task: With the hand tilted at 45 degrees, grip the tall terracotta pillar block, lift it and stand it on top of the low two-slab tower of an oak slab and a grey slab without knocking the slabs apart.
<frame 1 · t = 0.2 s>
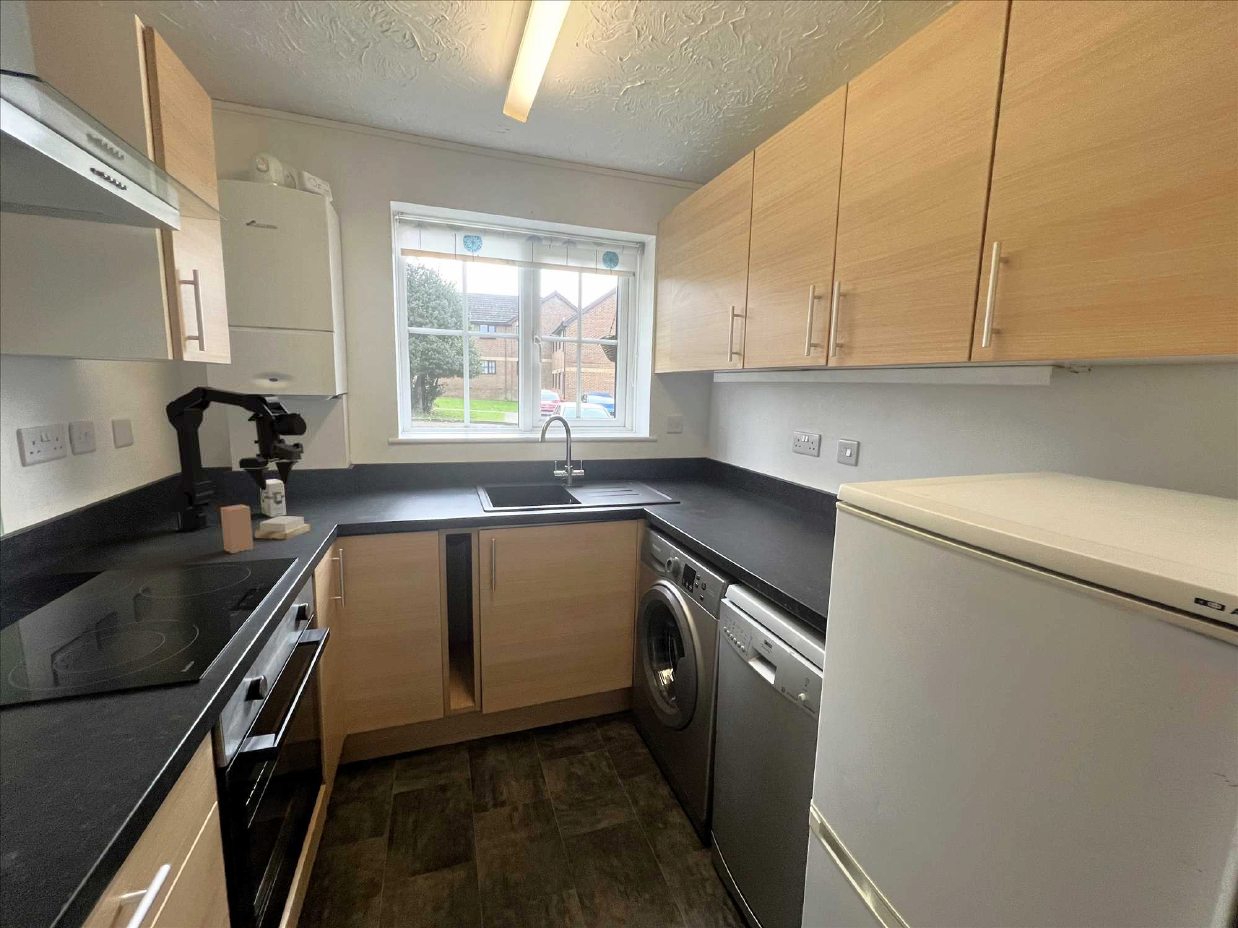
hand: (275, 487, 156), 14 cm above the worktop, tool pointing down, fingers open, 9 cm apart
pillar block: (239, 549, 142), on the worktop
ink box: (274, 514, 179), on the worktop
base slab: (283, 535, 157), on the worktop, touching top slab
top slab: (282, 527, 157), point 2 cm above the worktop, touching base slab
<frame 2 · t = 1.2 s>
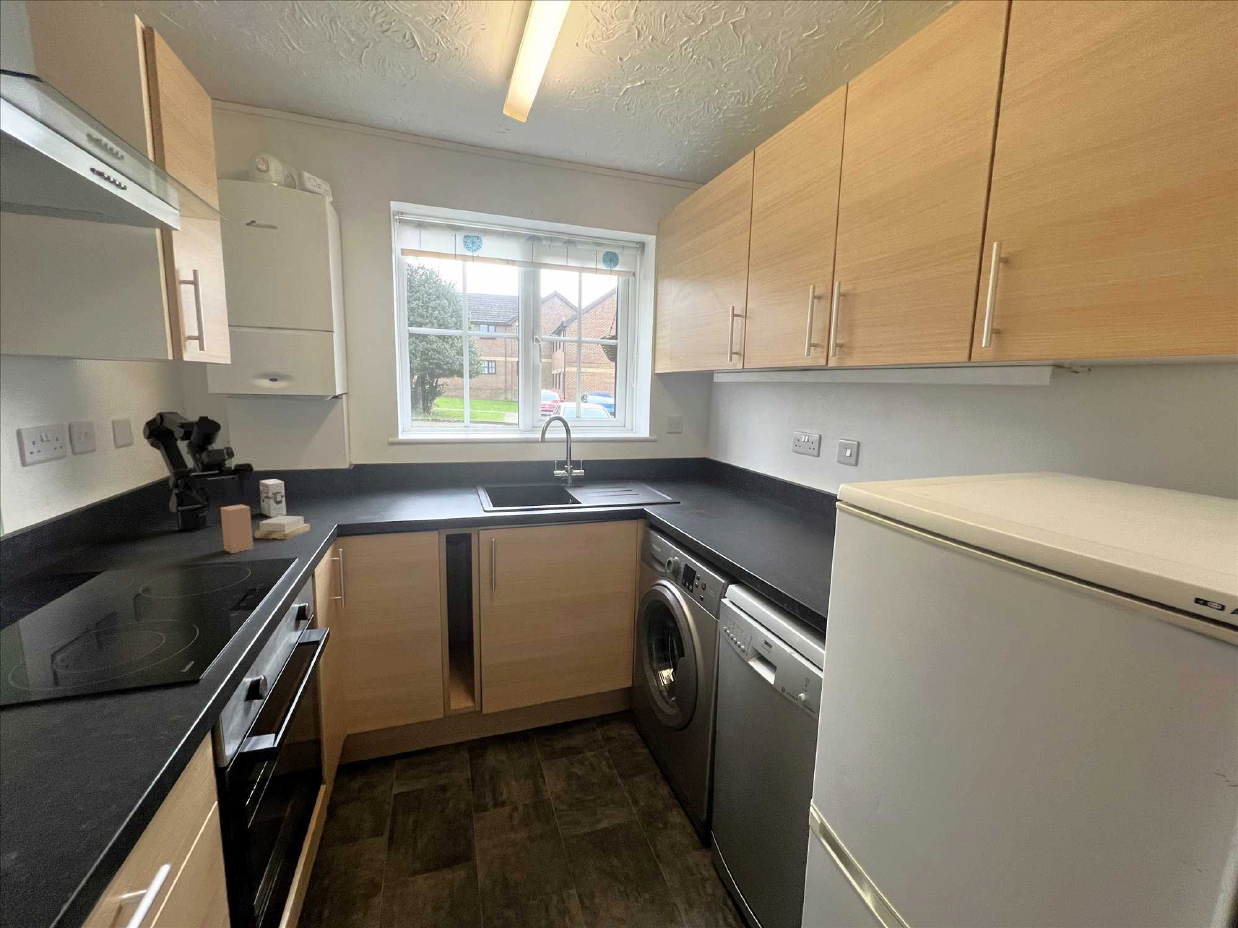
hand: (223, 498, 144), 13 cm above the worktop, tool tilted 45°, fingers open, 9 cm apart
base slab: (283, 535, 157), on the worktop
top slab: (282, 527, 157), point 2 cm above the worktop
everything else where it was.
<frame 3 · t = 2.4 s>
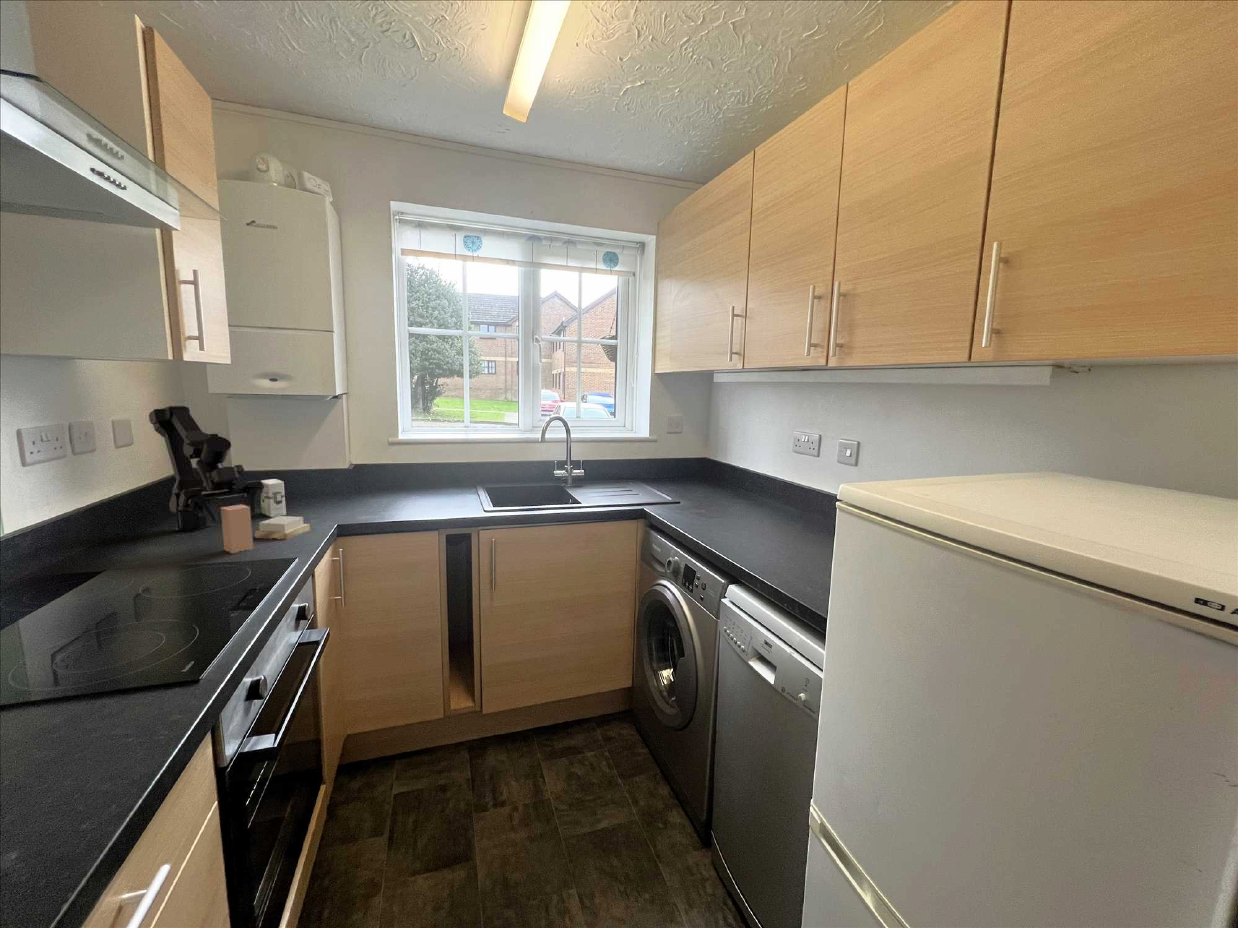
hand: (234, 517, 141), 9 cm above the worktop, tool tilted 45°, fingers open, 9 cm apart
base slab: (283, 535, 157), on the worktop, touching top slab
top slab: (282, 527, 157), point 2 cm above the worktop, touching base slab
everything else where it was.
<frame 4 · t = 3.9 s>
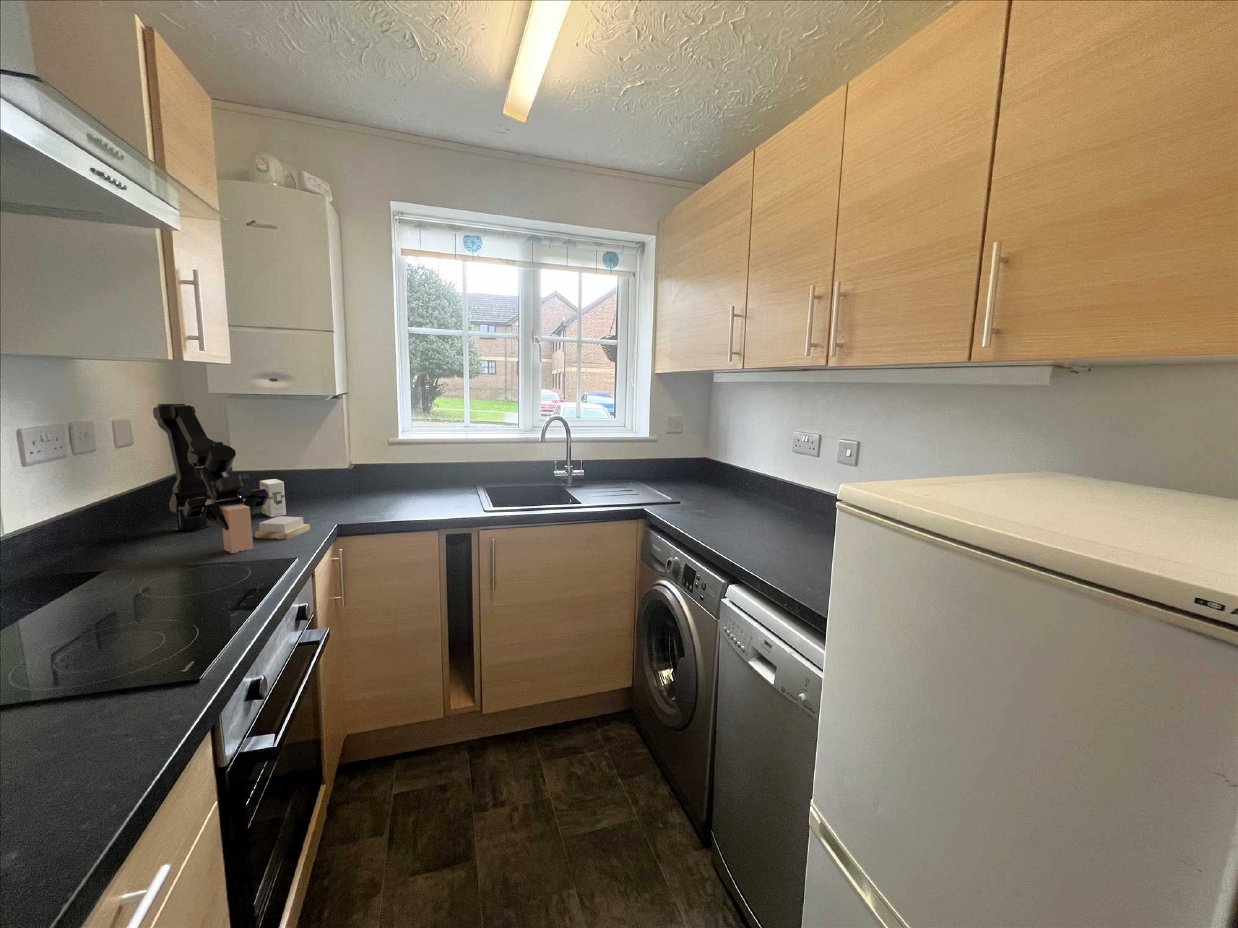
hand: (239, 527, 140), 7 cm above the worktop, tool tilted 45°, fingers closed on pillar block, 5 cm apart
pillar block: (239, 549, 142), on the worktop, touching gripper
everything else where it was.
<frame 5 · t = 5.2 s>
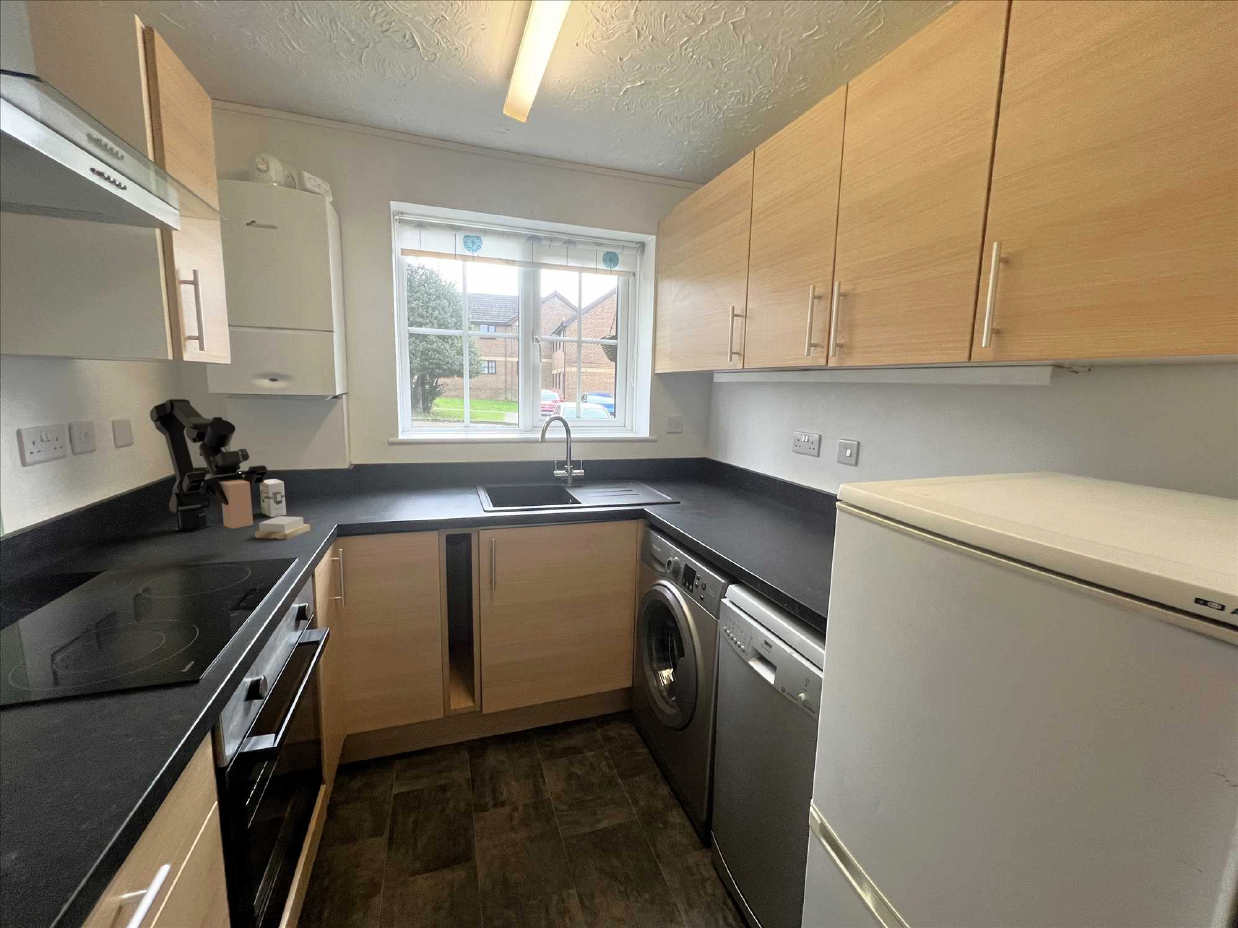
hand: (238, 502, 140), 13 cm above the worktop, tool tilted 45°, fingers closed on pillar block, 5 cm apart
pillar block: (238, 525, 141), point 7 cm above the worktop, touching gripper
everything else where it was.
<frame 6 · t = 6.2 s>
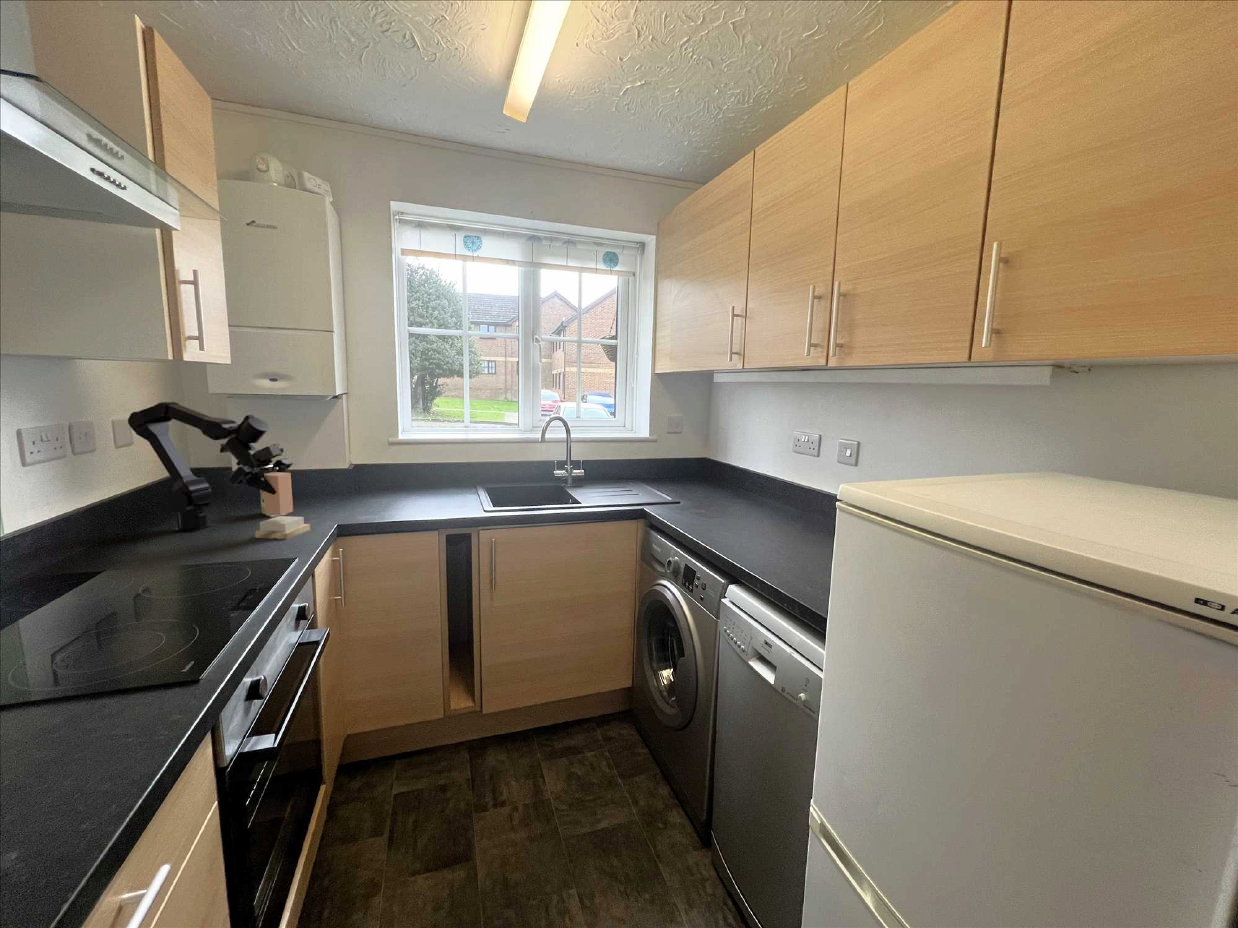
hand: (282, 491, 154), 13 cm above the worktop, tool tilted 45°, fingers closed on pillar block, 5 cm apart
pillar block: (279, 512, 155), point 7 cm above the worktop, touching gripper
everything else where it was.
when the fingers open (12 cm above the worktop, at t = 7.0 s): pillar block drops 1 cm, point 4 cm above the worktop.
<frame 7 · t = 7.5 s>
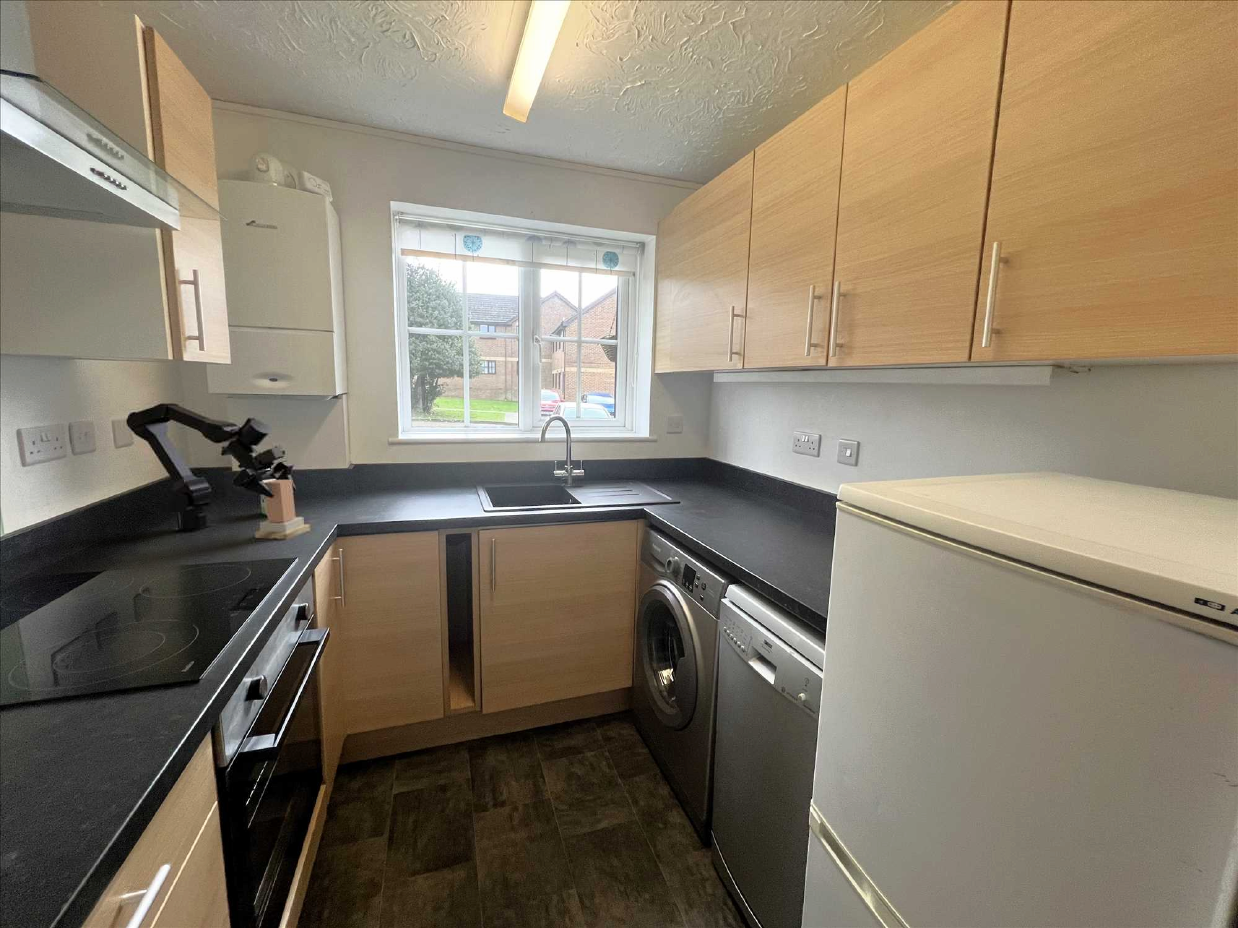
hand: (284, 493, 155), 13 cm above the worktop, tool tilted 45°, fingers open, 9 cm apart
pillar block: (282, 519, 156), point 4 cm above the worktop
everything else where it was.
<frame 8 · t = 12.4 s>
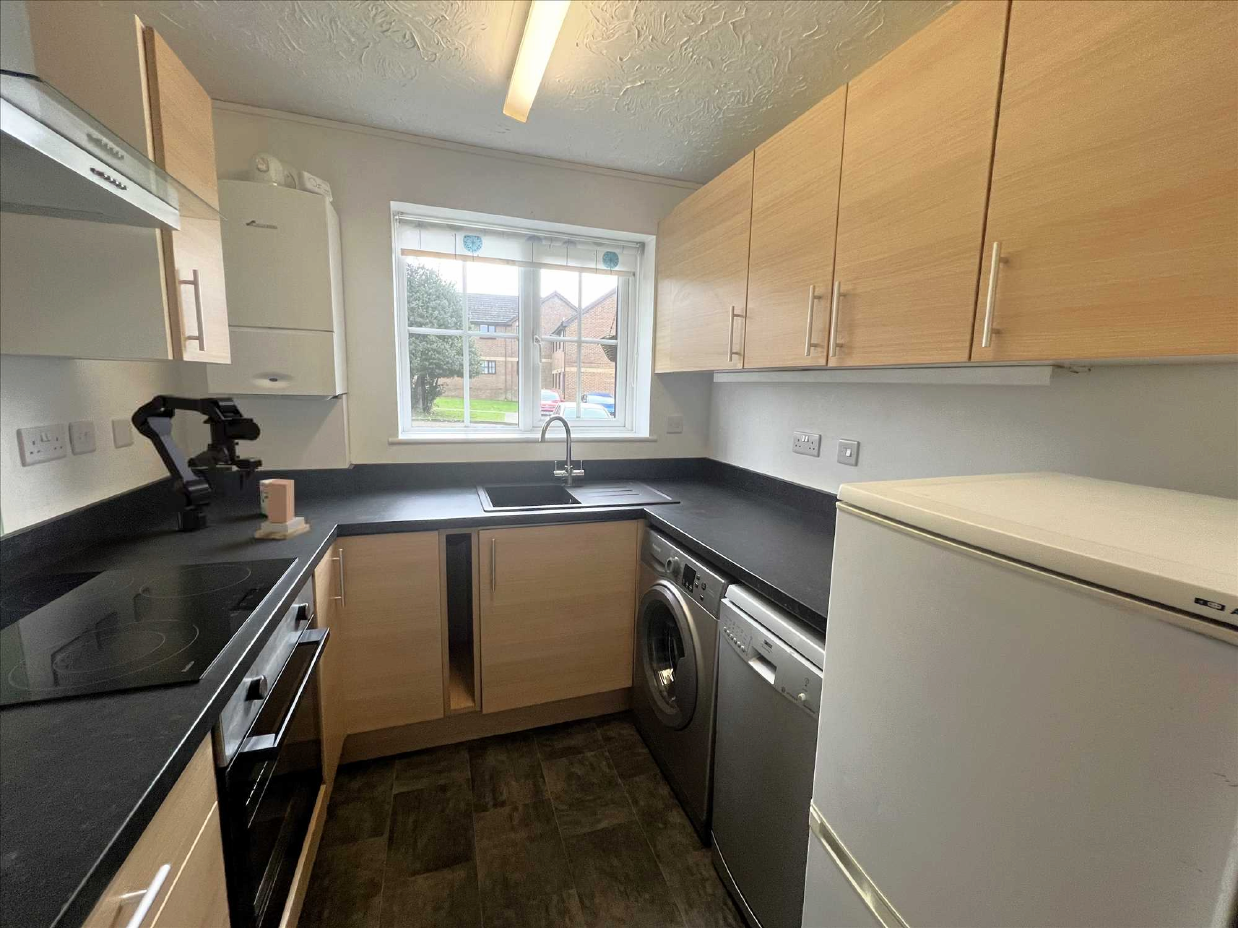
hand: (227, 490, 155), 13 cm above the worktop, tool pointing down, fingers open, 9 cm apart
pillar block: (281, 519, 156), point 5 cm above the worktop, tilted 6°, touching top slab
base slab: (283, 536, 157), on the worktop
top slab: (283, 528, 157), point 2 cm above the worktop, touching pillar block
everything else where it was.
at the end: pillar block 0.4 cm off-centre on the base slab, point 5.7 cm above the base slab's base; pillar block tilted 12°; top slab 0.3 cm off-centre on the base slab, point 2.5 cm above the base slab's base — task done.
